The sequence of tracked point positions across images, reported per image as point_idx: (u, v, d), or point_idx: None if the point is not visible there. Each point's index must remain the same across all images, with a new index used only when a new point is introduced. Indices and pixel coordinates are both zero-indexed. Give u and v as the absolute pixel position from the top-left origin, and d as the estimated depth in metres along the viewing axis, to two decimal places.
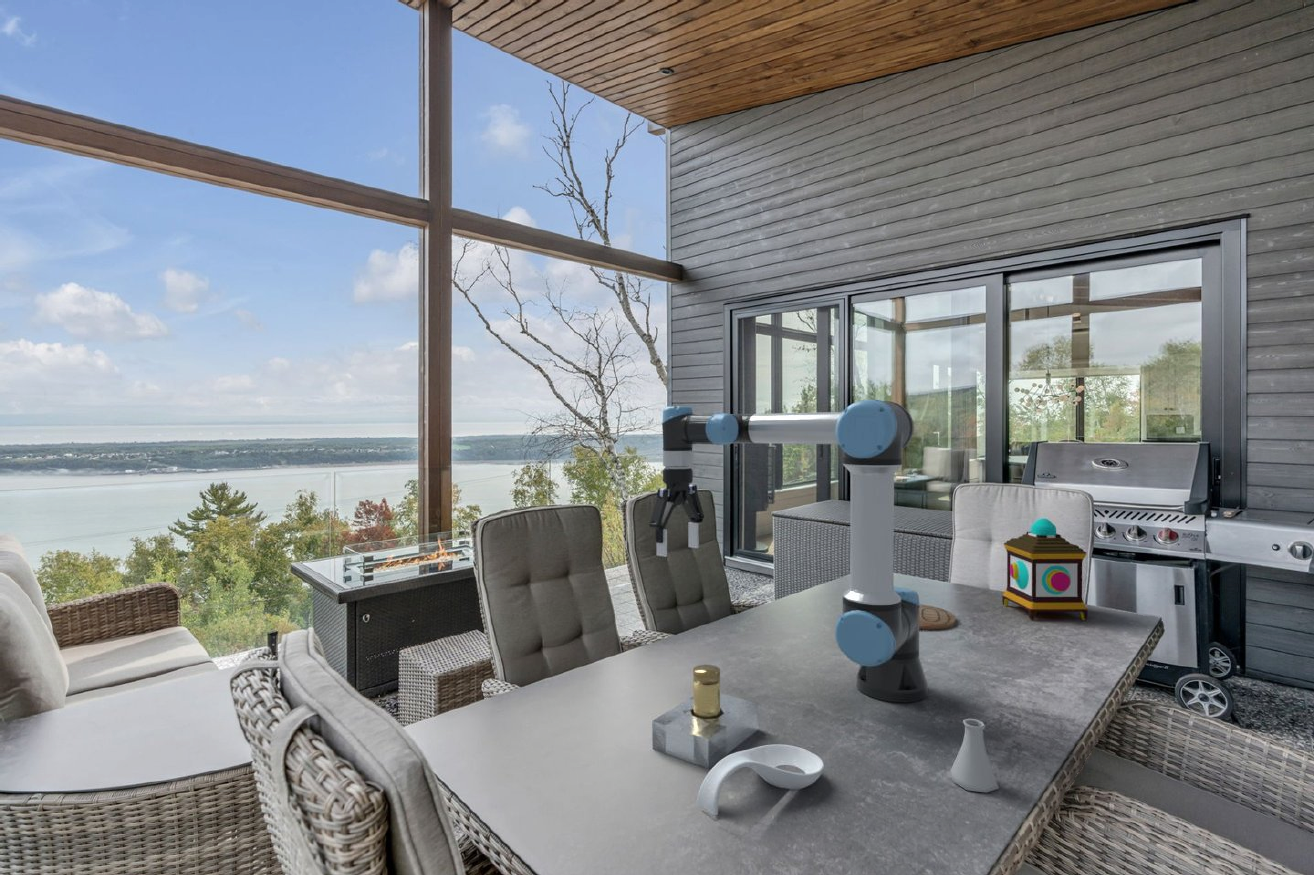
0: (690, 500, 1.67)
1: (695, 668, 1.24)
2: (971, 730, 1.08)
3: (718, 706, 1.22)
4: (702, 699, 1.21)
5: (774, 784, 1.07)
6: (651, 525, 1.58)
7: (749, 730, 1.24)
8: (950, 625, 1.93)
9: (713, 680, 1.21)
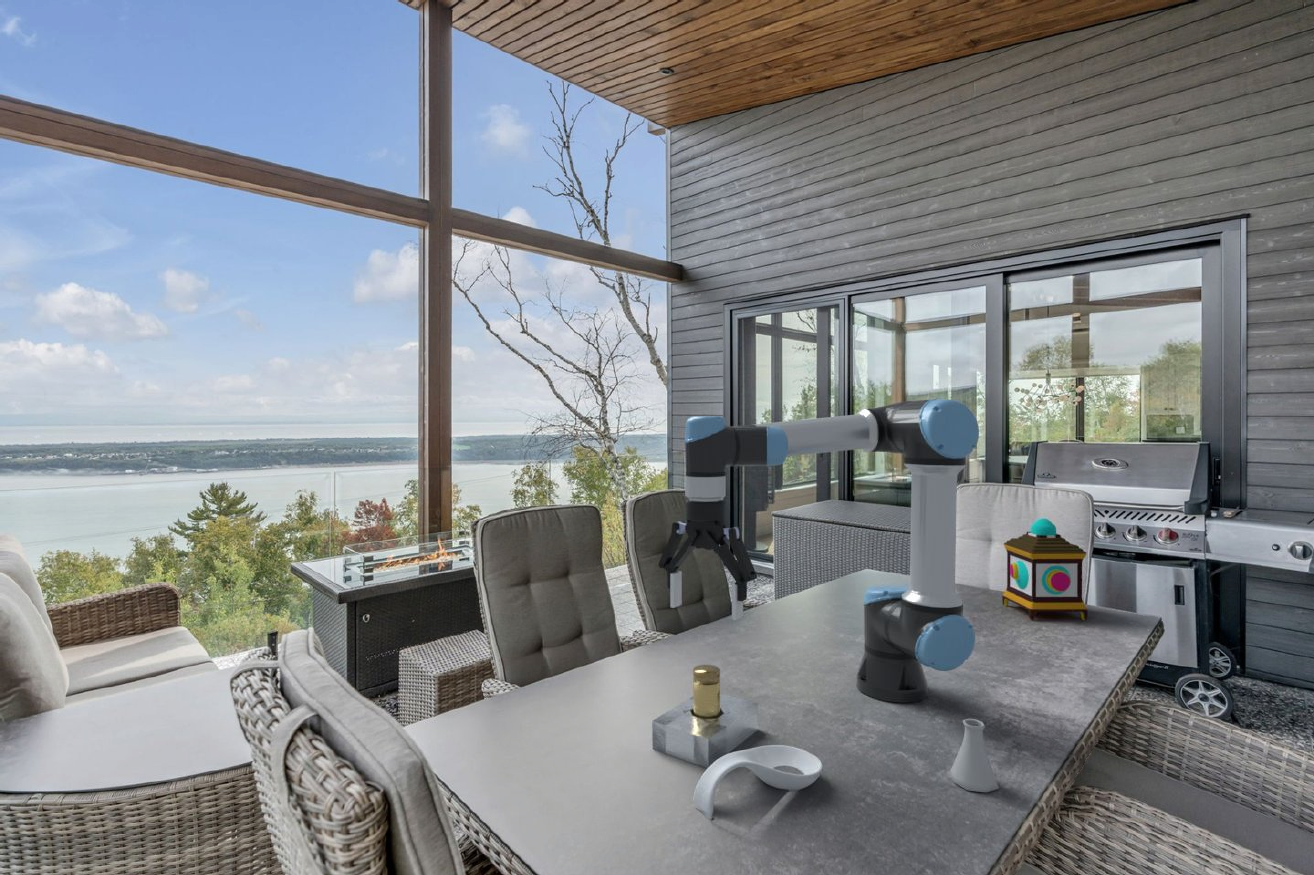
0: (715, 547, 1.20)
1: (695, 668, 1.24)
2: (971, 730, 1.08)
3: (718, 706, 1.22)
4: (702, 699, 1.21)
5: (771, 785, 1.06)
6: None
7: (749, 730, 1.24)
8: None
9: (713, 680, 1.21)
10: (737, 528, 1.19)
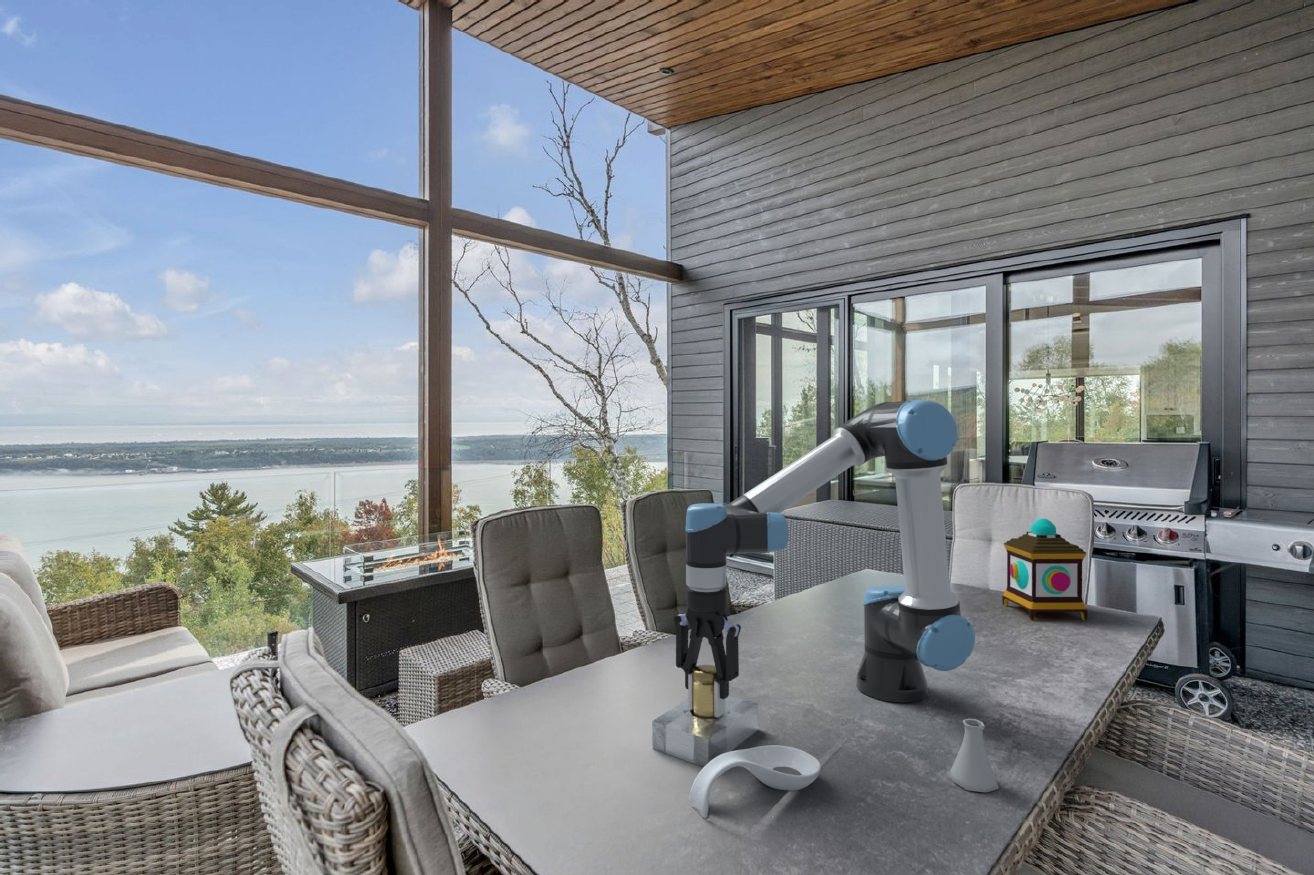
0: (710, 639, 1.20)
1: (695, 668, 1.24)
2: (971, 730, 1.08)
3: None
4: (702, 699, 1.21)
5: (769, 785, 1.06)
6: None
7: (749, 730, 1.24)
8: None
9: (713, 680, 1.21)
10: (738, 628, 1.19)
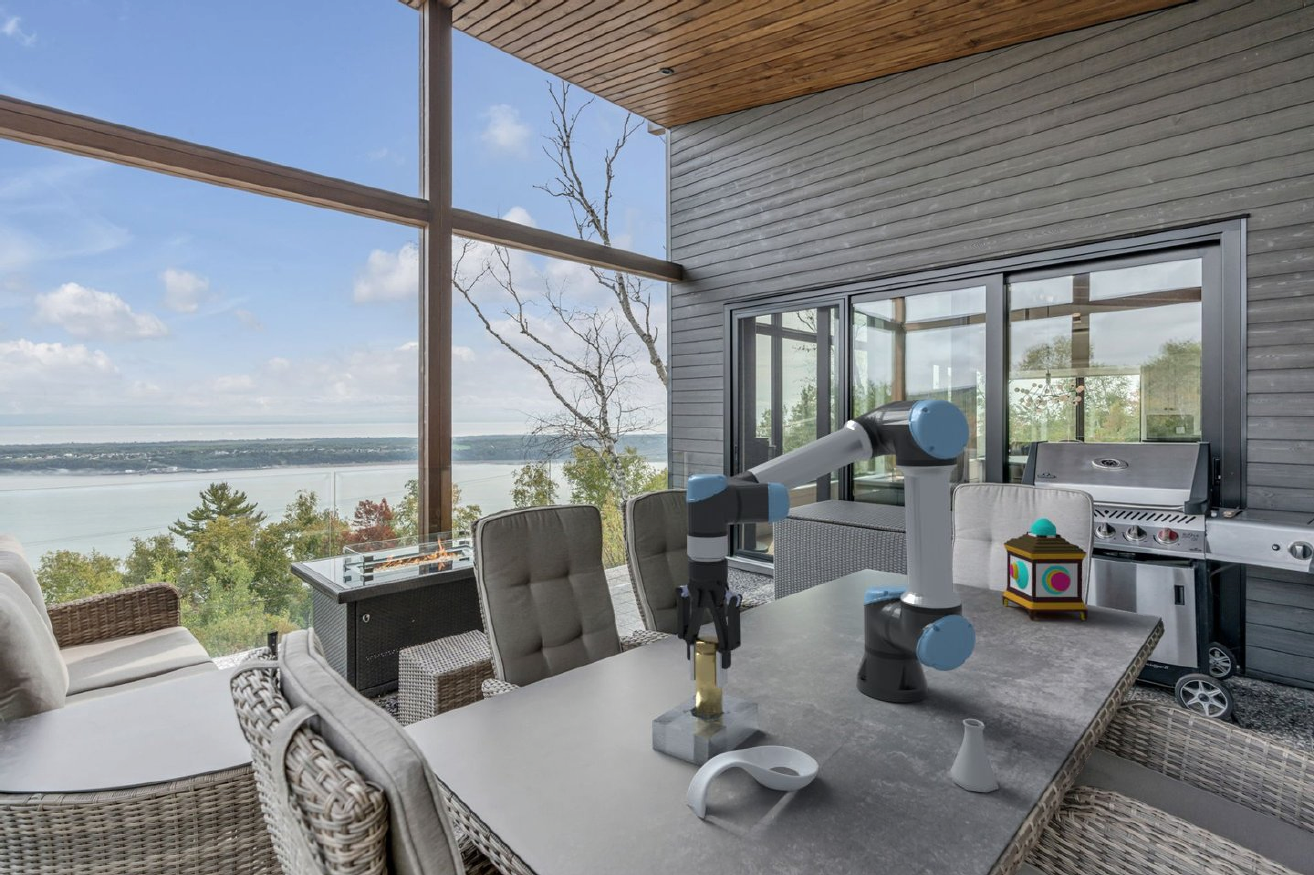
0: (712, 609, 1.20)
1: (697, 639, 1.23)
2: (971, 730, 1.08)
3: None
4: (704, 669, 1.21)
5: (766, 786, 1.06)
6: None
7: (749, 730, 1.24)
8: None
9: (715, 650, 1.21)
10: (739, 597, 1.19)
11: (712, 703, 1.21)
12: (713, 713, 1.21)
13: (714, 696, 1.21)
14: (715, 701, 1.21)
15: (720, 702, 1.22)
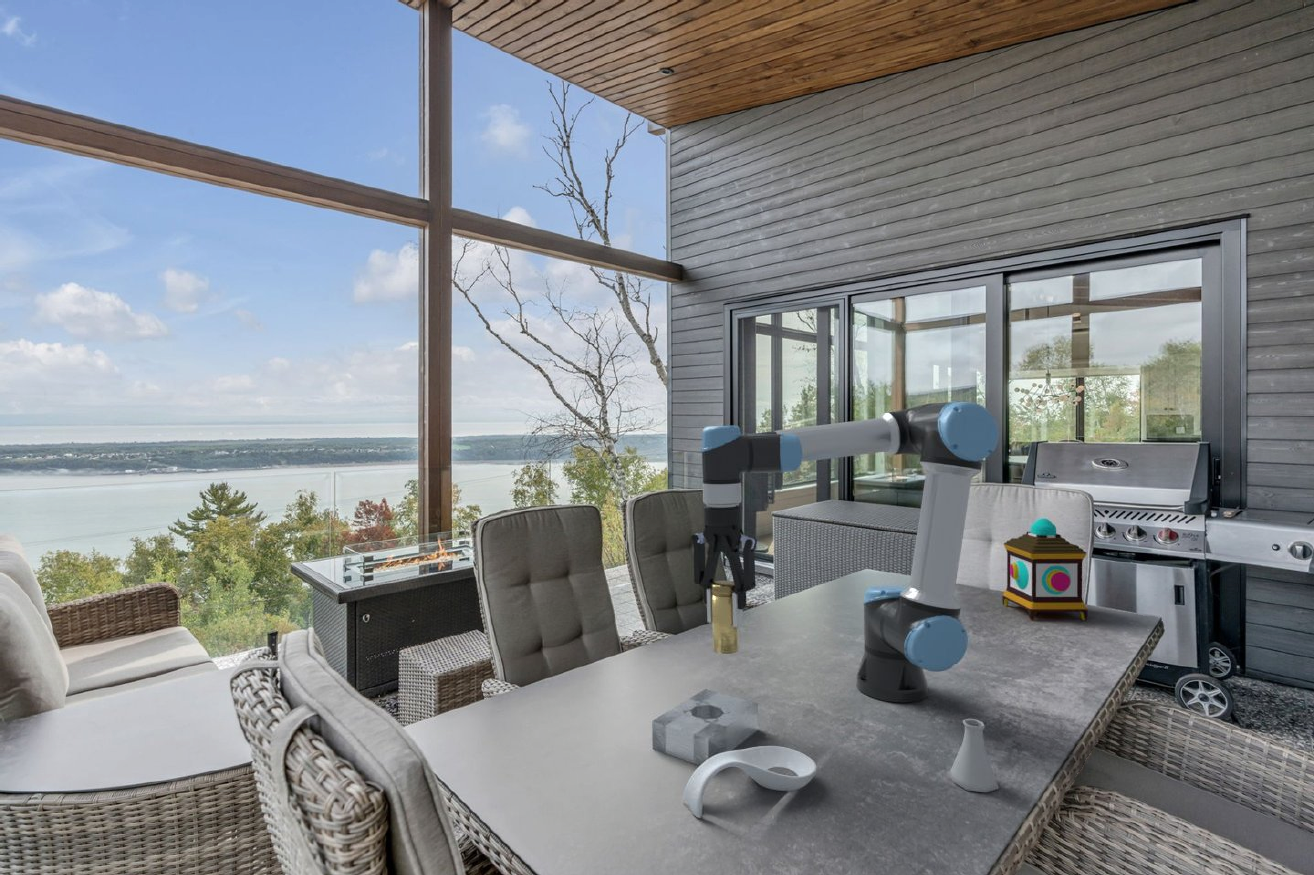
0: (728, 553, 1.26)
1: (713, 583, 1.29)
2: (971, 730, 1.08)
3: None
4: (720, 610, 1.27)
5: (764, 786, 1.06)
6: None
7: (749, 730, 1.24)
8: None
9: (731, 592, 1.27)
10: (754, 540, 1.25)
11: (729, 643, 1.27)
12: (730, 652, 1.27)
13: (731, 636, 1.27)
14: (732, 641, 1.27)
15: (736, 642, 1.28)
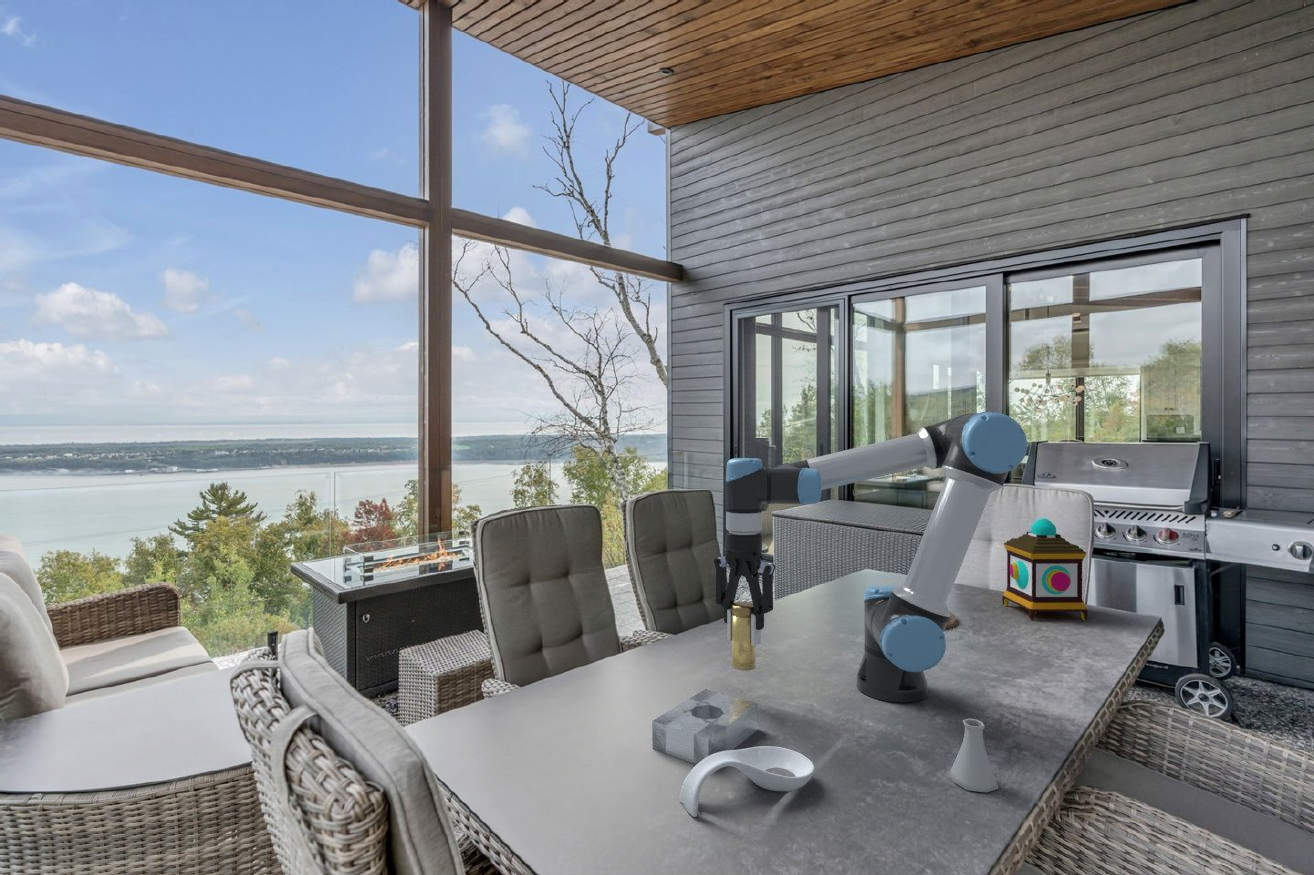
0: (748, 577, 1.36)
1: (733, 604, 1.39)
2: (971, 730, 1.08)
3: None
4: (740, 630, 1.36)
5: (761, 786, 1.06)
6: None
7: (749, 730, 1.24)
8: (950, 625, 1.93)
9: (750, 613, 1.36)
10: (773, 566, 1.35)
11: (747, 660, 1.36)
12: (748, 669, 1.36)
13: (749, 654, 1.36)
14: (750, 659, 1.37)
15: (754, 659, 1.37)
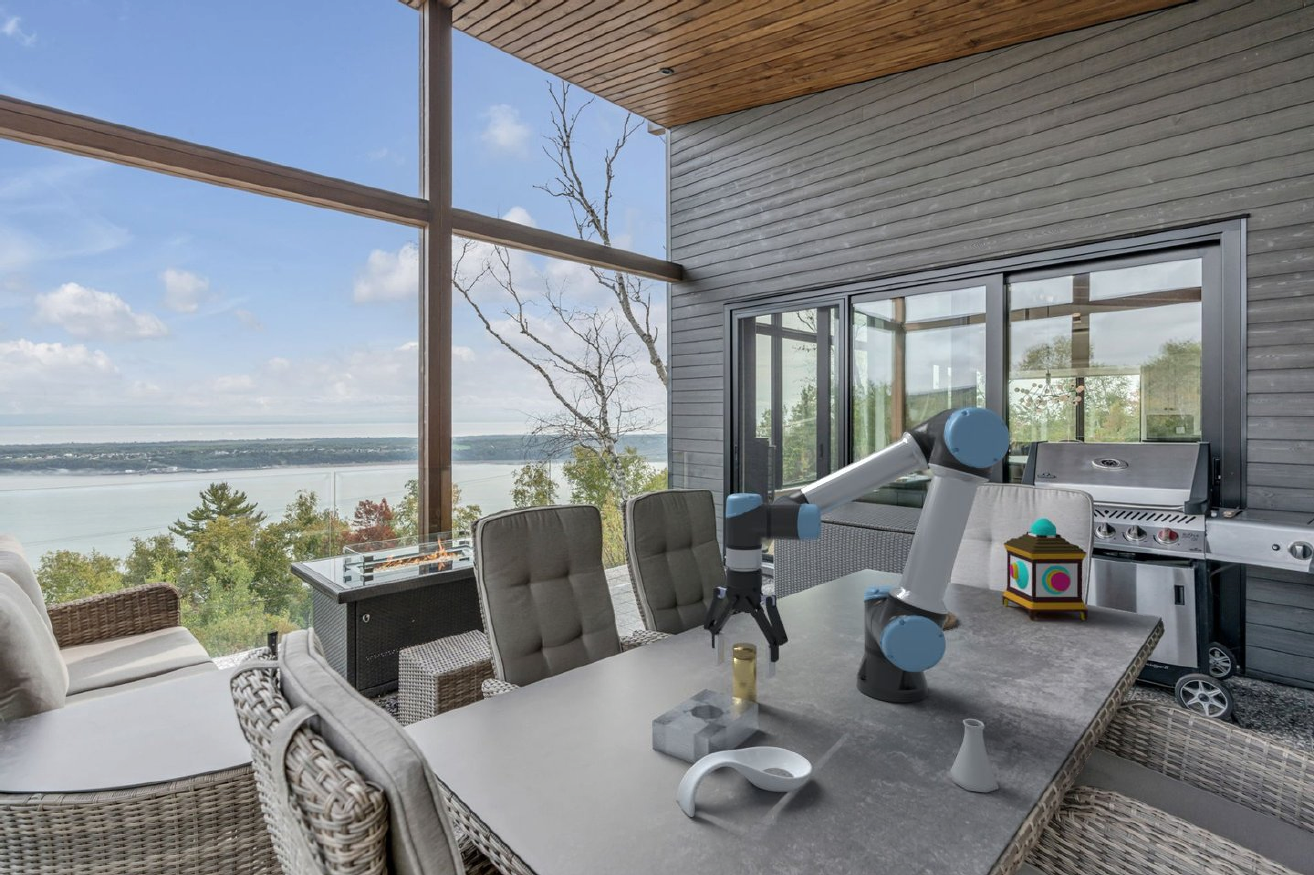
0: (752, 612, 1.35)
1: (734, 645, 1.39)
2: (971, 730, 1.08)
3: (755, 679, 1.38)
4: (741, 672, 1.37)
5: (758, 786, 1.06)
6: None
7: (749, 730, 1.24)
8: (950, 625, 1.93)
9: (751, 656, 1.37)
10: (773, 596, 1.35)
11: None
12: None
13: (750, 696, 1.37)
14: (751, 701, 1.37)
15: (755, 701, 1.37)
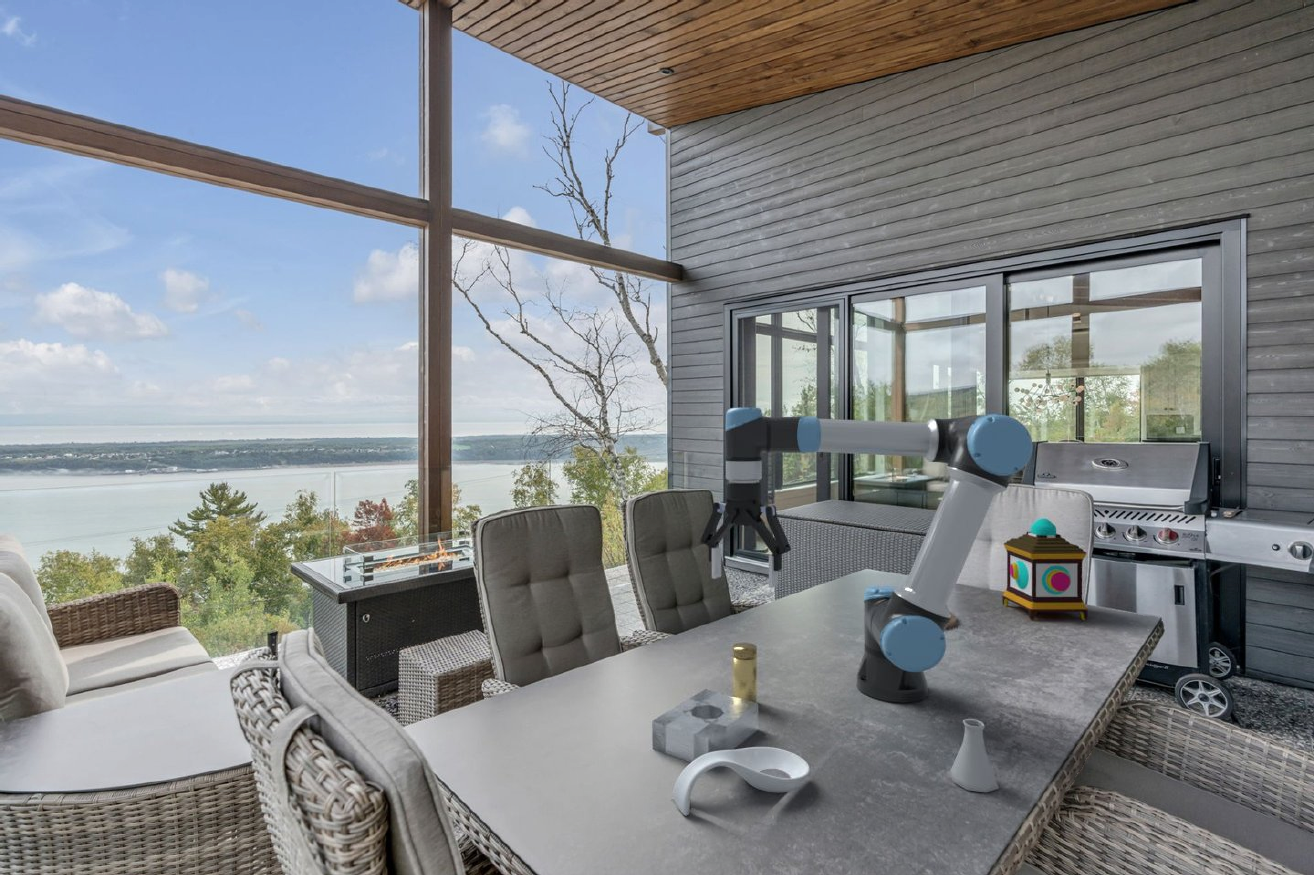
0: (753, 523, 1.35)
1: (734, 645, 1.39)
2: (971, 730, 1.08)
3: (755, 679, 1.38)
4: (741, 672, 1.37)
5: (754, 786, 1.06)
6: None
7: (749, 730, 1.24)
8: (950, 625, 1.93)
9: (751, 656, 1.37)
10: (773, 506, 1.35)
11: None
12: None
13: (750, 696, 1.37)
14: (751, 701, 1.37)
15: (755, 701, 1.37)
